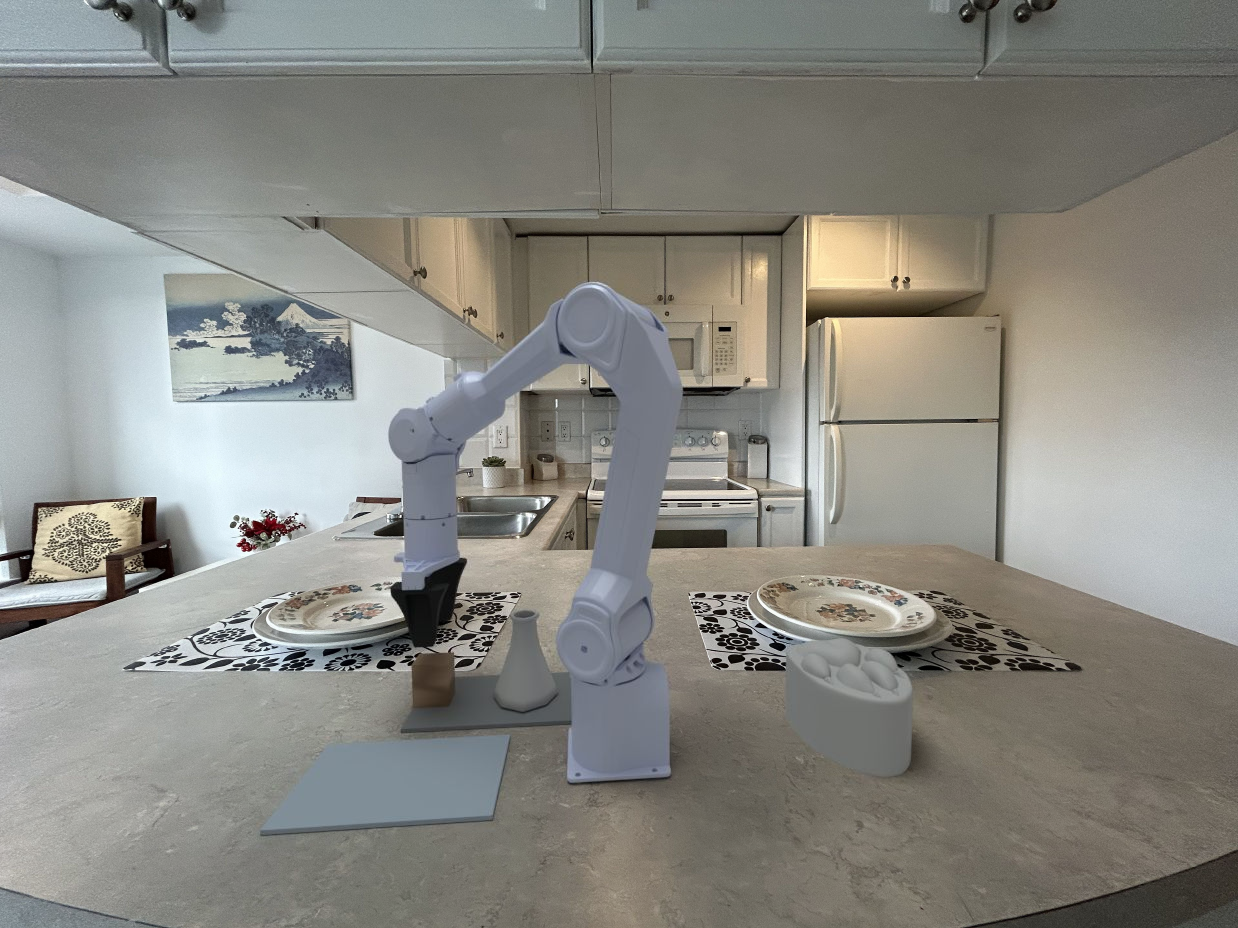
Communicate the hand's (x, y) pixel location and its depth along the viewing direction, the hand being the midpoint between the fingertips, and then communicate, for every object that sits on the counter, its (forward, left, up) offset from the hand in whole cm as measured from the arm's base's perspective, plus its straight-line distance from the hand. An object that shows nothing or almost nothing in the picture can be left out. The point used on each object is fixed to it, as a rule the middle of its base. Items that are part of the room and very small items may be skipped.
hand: (434, 631), depth 59 cm
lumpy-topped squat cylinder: (-45, +10, -9) cm, 47 cm away
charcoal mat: (-7, 0, -8) cm, 11 cm away
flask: (-10, 0, -8) cm, 13 cm away
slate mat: (-1, +13, -8) cm, 16 cm away
